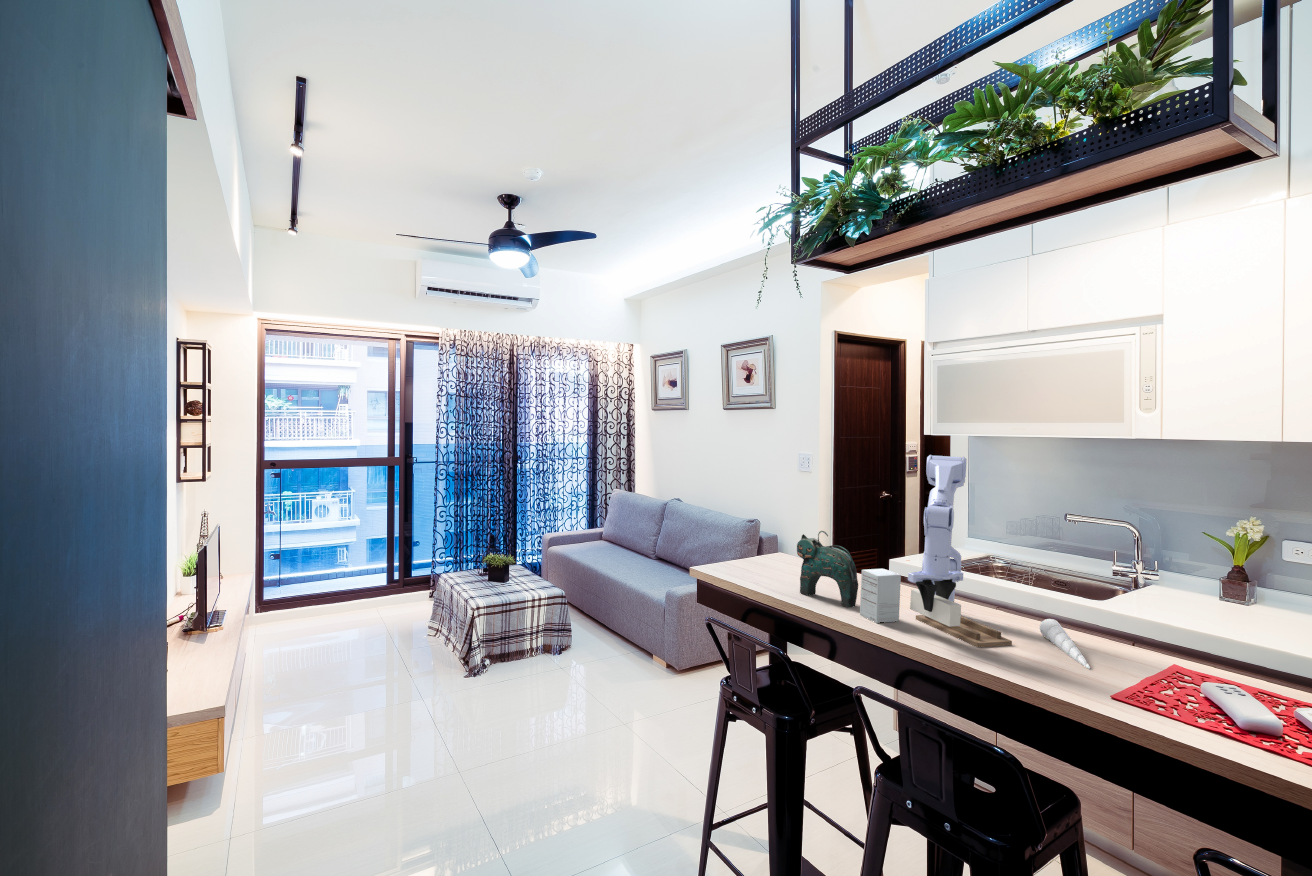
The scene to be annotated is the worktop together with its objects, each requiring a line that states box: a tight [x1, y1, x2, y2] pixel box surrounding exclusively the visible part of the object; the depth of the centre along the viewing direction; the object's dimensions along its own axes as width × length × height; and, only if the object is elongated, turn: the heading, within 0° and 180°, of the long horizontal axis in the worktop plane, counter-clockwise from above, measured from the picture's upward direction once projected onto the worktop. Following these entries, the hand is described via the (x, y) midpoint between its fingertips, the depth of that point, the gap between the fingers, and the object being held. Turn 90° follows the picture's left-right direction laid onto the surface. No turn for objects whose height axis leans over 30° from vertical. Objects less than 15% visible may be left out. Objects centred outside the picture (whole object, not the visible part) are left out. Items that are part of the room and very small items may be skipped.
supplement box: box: [859, 568, 902, 624], centre depth 171 cm, size 7×7×13 cm
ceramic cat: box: [796, 530, 859, 608], centre depth 188 cm, size 20×6×20 cm, turn 37°
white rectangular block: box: [909, 588, 962, 627], centre depth 156 cm, size 14×3×5 cm, turn 16°
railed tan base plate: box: [915, 614, 1013, 648], centre depth 163 cm, size 22×10×2 cm, turn 16°
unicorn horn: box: [1038, 618, 1091, 670], centre depth 151 cm, size 5×24×5 cm, turn 164°
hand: (934, 610), depth 157 cm, fingers closed on white rectangular block, 3 cm apart
